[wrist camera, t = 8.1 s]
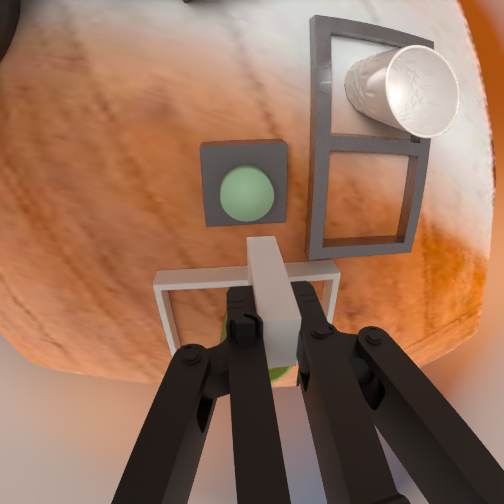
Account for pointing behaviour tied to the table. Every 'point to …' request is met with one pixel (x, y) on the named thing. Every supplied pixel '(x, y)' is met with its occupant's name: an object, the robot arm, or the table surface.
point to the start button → (246, 193)
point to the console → (239, 153)
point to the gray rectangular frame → (238, 278)
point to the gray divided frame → (355, 147)
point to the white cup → (406, 90)
